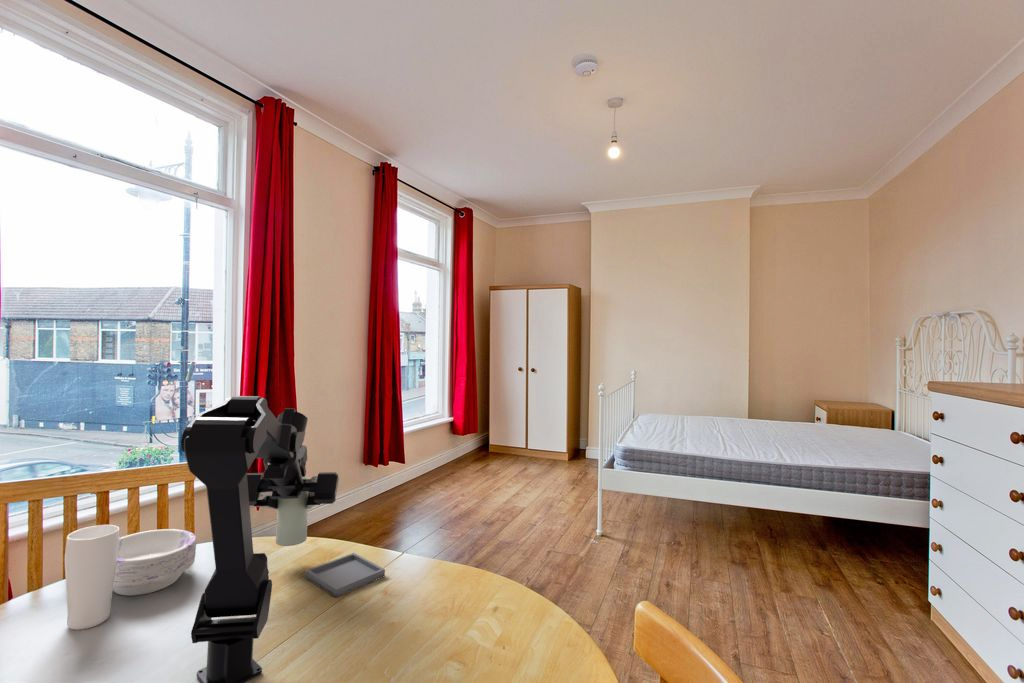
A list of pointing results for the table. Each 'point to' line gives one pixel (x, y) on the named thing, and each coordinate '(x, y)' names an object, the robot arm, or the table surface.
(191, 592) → the table surface
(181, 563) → the paper bowls
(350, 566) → the tray
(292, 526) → the domed cap cylinder
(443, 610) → the table surface
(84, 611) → the white vase
